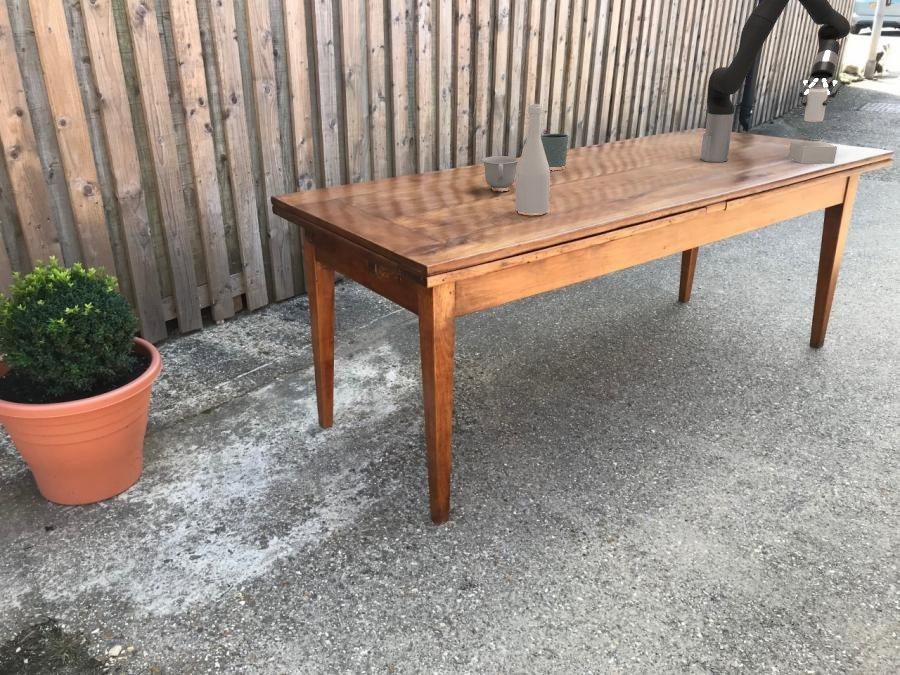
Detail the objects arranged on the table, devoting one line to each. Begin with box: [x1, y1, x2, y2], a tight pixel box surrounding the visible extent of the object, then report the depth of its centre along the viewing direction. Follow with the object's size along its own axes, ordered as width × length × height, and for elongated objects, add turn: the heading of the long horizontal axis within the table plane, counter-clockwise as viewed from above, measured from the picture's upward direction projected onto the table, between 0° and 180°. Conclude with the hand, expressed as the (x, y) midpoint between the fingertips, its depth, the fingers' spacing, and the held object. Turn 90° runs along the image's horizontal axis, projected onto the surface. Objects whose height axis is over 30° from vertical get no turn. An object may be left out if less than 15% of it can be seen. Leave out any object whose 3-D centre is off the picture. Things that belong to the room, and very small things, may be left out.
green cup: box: [540, 133, 569, 167], centre depth 264 cm, size 10×10×12 cm
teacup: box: [481, 155, 520, 188], centre depth 232 cm, size 12×15×10 cm
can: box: [803, 86, 829, 123], centre depth 260 cm, size 6×6×12 cm
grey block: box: [787, 140, 838, 165], centre depth 271 cm, size 12×12×6 cm
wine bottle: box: [515, 103, 551, 213], centre depth 202 cm, size 10×10×30 cm
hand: (814, 105), depth 259 cm, fingers closed on can, 5 cm apart
